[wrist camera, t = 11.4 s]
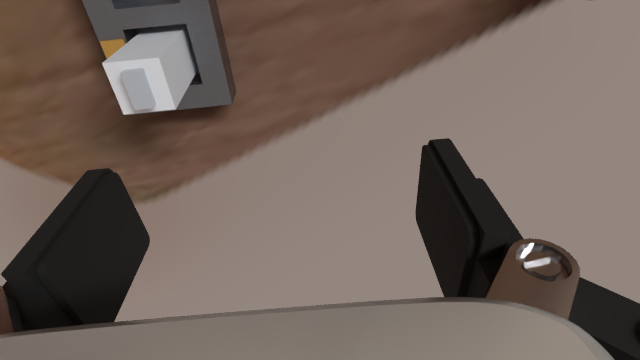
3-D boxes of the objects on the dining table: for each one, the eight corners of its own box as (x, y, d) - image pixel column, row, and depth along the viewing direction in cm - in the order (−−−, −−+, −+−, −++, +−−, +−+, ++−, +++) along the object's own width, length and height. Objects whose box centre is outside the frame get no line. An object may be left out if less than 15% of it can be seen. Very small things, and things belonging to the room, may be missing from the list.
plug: (188, 24, 34) (155, 61, 25) (199, 66, 36) (173, 113, 28) (145, 28, 34) (97, 66, 25) (159, 70, 36) (120, 119, 28)
